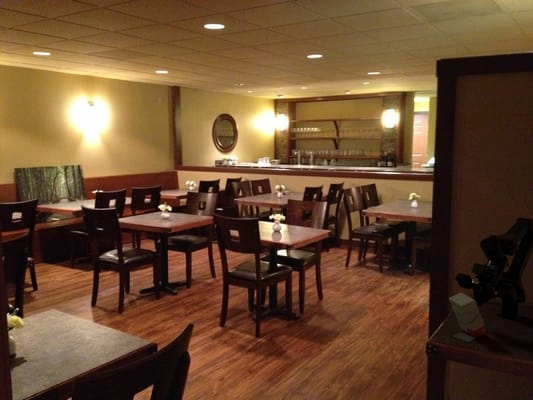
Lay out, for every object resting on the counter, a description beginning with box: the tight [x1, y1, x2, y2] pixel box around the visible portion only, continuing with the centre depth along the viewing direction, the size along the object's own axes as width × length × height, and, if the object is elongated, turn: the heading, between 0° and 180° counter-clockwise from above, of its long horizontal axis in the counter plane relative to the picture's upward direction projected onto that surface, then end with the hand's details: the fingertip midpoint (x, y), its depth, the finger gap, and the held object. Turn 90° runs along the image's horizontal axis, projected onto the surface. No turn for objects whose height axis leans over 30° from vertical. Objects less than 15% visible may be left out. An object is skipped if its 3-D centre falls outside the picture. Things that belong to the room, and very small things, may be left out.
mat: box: [452, 332, 477, 343], centre depth 146 cm, size 4×6×1 cm
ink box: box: [448, 292, 489, 339], centre depth 149 cm, size 9×5×12 cm, turn 8°
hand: (474, 307), depth 149 cm, fingers closed
